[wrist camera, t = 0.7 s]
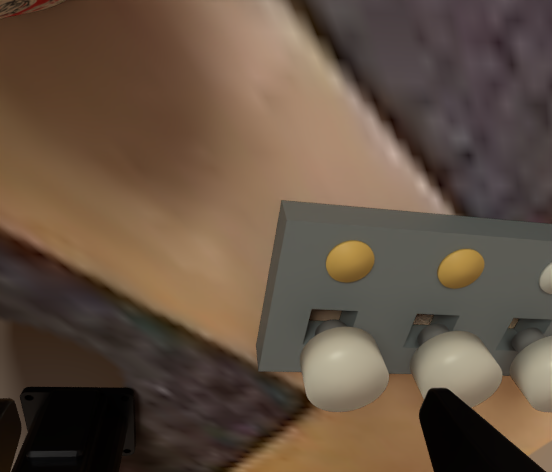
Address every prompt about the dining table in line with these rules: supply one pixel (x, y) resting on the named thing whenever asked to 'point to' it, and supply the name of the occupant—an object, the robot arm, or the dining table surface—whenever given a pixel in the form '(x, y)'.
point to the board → (402, 280)
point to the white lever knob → (533, 367)
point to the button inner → (342, 368)
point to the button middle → (455, 364)
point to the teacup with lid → (24, 6)
